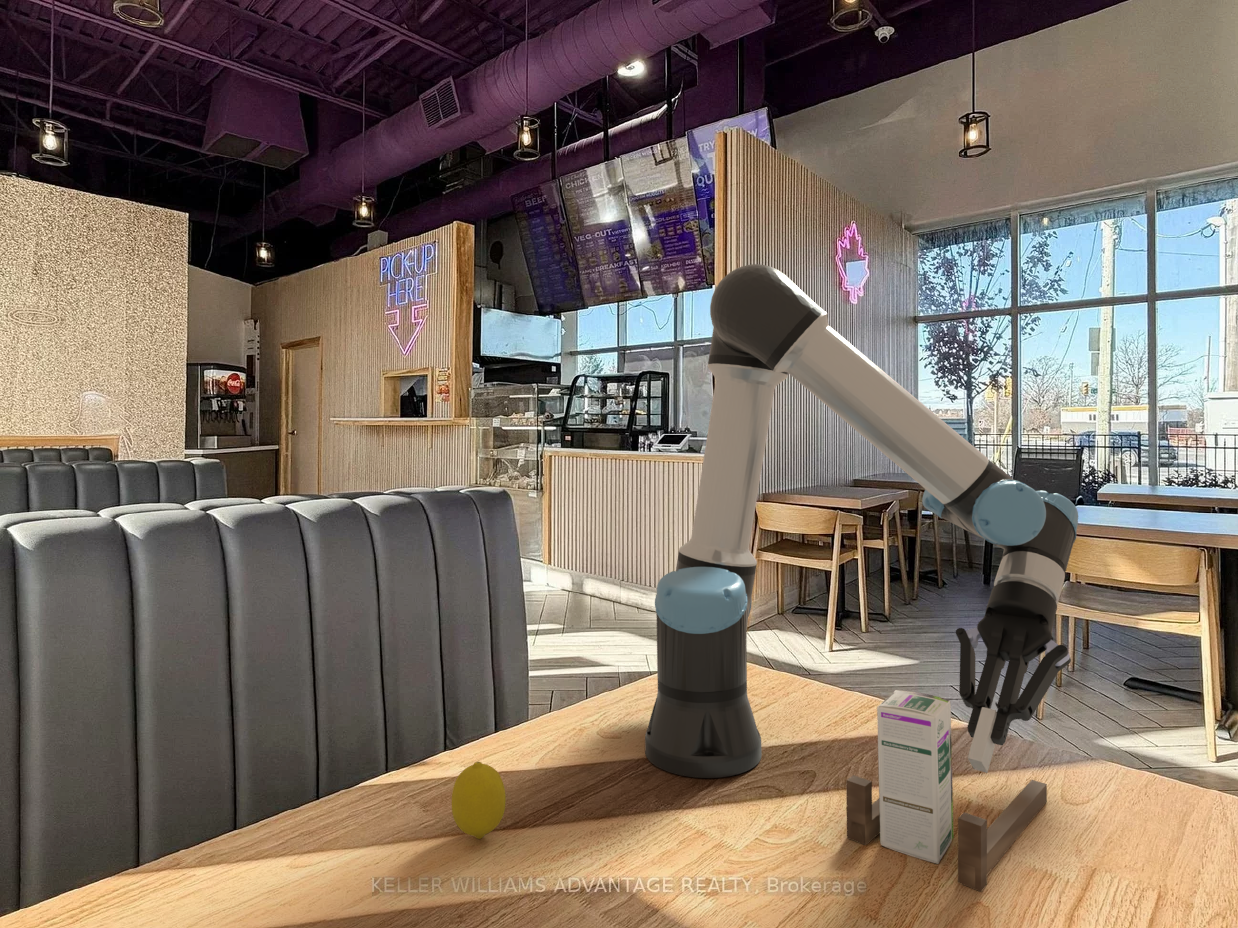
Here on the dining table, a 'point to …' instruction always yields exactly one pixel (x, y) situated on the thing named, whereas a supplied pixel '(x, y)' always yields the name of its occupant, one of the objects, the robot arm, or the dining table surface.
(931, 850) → the syrup box
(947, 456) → the robot arm
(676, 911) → the dining table surface
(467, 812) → the lemon
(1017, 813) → the brown wooden rack
